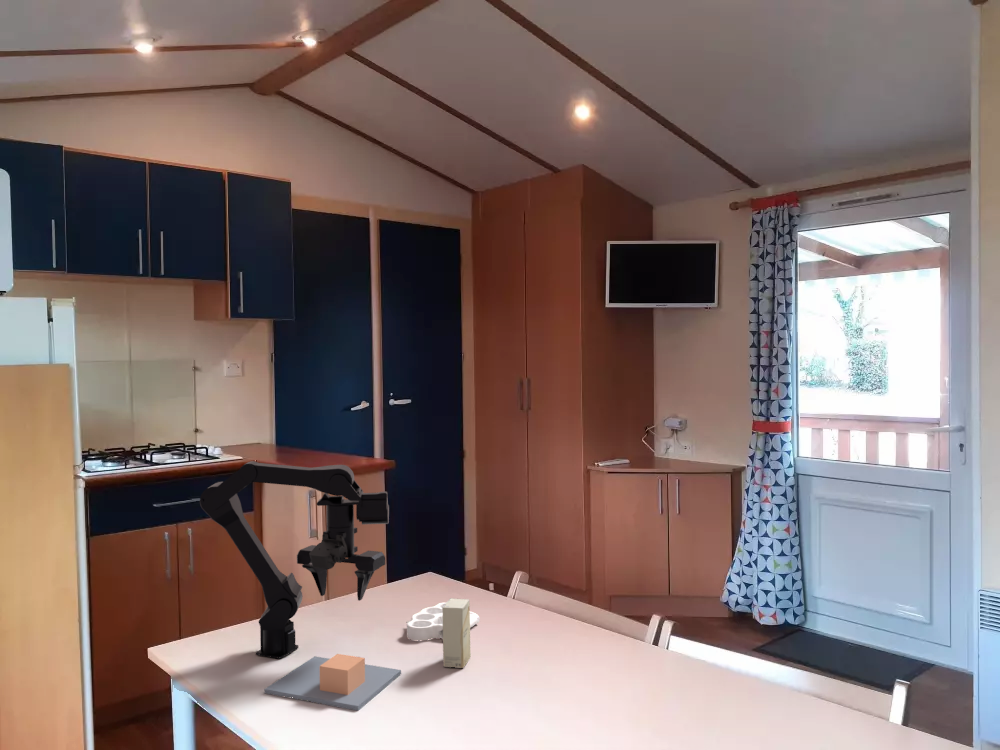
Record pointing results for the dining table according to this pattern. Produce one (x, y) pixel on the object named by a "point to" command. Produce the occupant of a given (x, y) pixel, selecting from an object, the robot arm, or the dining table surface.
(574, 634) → the dining table surface
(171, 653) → the dining table surface
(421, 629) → the white egg tray
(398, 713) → the dining table surface
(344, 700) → the base plate
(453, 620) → the skincare box
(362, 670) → the orange block
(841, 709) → the dining table surface
